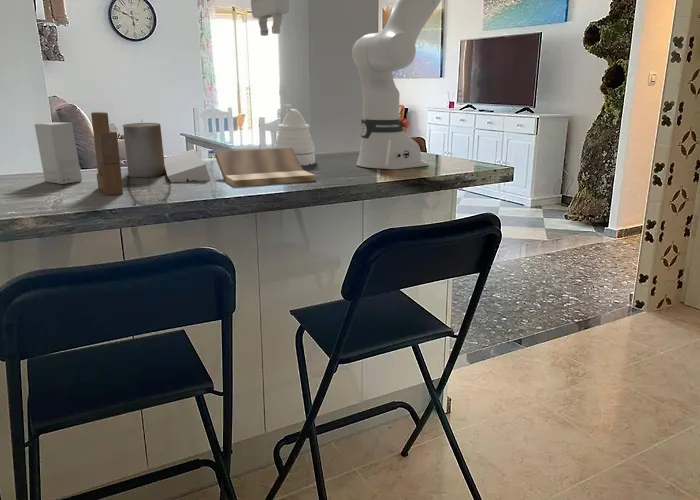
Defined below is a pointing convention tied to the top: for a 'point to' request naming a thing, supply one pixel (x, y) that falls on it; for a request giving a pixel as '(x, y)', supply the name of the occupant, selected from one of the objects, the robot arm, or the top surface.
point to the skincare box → (58, 152)
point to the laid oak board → (269, 178)
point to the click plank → (257, 161)
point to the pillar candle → (144, 149)
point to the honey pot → (296, 136)
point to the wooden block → (106, 155)
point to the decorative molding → (186, 167)
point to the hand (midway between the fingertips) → (270, 34)
